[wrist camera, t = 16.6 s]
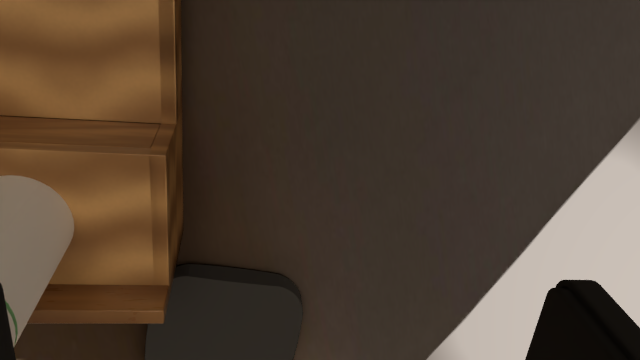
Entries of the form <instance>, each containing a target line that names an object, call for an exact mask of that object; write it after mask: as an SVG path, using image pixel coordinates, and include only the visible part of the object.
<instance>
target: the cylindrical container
mask: <svg viewBox="0 0 640 360" xmlns="http://www.w3.org/2000/svg"><path fill="white" fill-rule="evenodd" d="M73 233H74V219H73V216H72V213H71V210H70V209H69V207H68V205H67V203H66V202H65V201H64V200H63V198H62V197H61V196H60V195H59V194H58V193H57V192H56V191H54V190H53V189H52V188H51V187H49V186H47V185H45V184H44V183H42V182H39V181H37V180H34V179H32V178H28V177H23V176H14V175H6V176H0V283H1V285H2V287H3V292H4V297H5V303H6V308H7V314H8V319H9V325H10V330H11V336H12V341H13V347H14V346H15V344H16V342H17V341H18V339H19V337H20V335H21V333H22V331H23V329H24V328H25V326H26V324H27V322H28V320H29V318H30V317H31V315H32V313H33V311H34V309H35V307H36V305H37V304H38V302H39V300H40V298H41V296H42V294H43V292H44V291H45V289H46V287H47V285H48V283H49V281H50V279H51V278H52V276H53V274H54V272H55V270H56V268H57V266H58V265H59V263H60V261H61V259H62V257H63V255H64V254H65V252H66V250H67V248H68V246H69V244H70V242H71V240H72V238H73Z"/></svg>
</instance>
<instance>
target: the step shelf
mask: <svg viewBox="0 0 640 360" xmlns="http://www.w3.org/2000/svg"><path fill="white" fill-rule="evenodd" d="M0 115H2V116H0V176H6V175H14V176H23V177H28V178H32V179H34V180H37V181H39V182H42V183H44V184H45V185H47V186H49V187H51V188H52V189H53V190H54V191H56V192H57V193H58V194H59V195H60V196H61V197H62V198H63V200H64V201H65V202H66V203H67V205H68V207H69V209H70V210H71V213H72V216H73V219H74V233H73V238H72V240H71V242H70V244H69V246H68V248H67V250H66V252H65V254H64V255H63V257H62V259H61V261H60V263H59V265H58V266H57V268H56V270H55V272H54V274H53V276H52V278H51V279H50V281H49V283H48V285H47V287H46V289H45V291H44V292H43V294H42V296H41V298H40V300H39V302H38V304H37V305H36V307H35V309H34V311H33V313H32V315H31V317H30V318H29V320H28V322H27V323H161V324H163V323H164V321H165V316H166V311H167V306H168V302H169V297H170V292H171V287H172V283H173V278H174V273H175V268H176V263H177V259H178V254H179V249H180V244H181V239H182V235H183V154H182V60H181V0H0ZM10 116H22V117H10ZM30 117H41V118H30ZM50 118H61V119H50ZM69 119H81V120H69ZM89 120H101V121H89ZM109 121H120V122H109ZM129 122H140V123H129ZM149 123H160V124H161V125H160V124H149Z"/></svg>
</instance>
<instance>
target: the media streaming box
mask: <svg viewBox="0 0 640 360" xmlns="http://www.w3.org/2000/svg"><path fill="white" fill-rule="evenodd" d="M302 316H303V309H302V301H301V295H300V292H299V290H298V288H297V287H296V285H295V284H294V283H293V282H292V281H291V280H289V279H288V278H286V277H284V276H282V275H279V274H274V273H268V272H262V271H255V270H248V269H240V268H231V267H222V266H211V265H198V264H185V265H181V266H177V267H176V268H175V273H174V278H173V283H172V287H171V292H170V297H169V302H168V306H167V311H166V316H165V321H164V323H163V324H161V323H148V328H147V336H146V346H145V360H293V358H294V355H295V351H296V347H297V343H298V339H299V334H300V329H301V323H302Z"/></svg>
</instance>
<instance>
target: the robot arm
mask: <svg viewBox="0 0 640 360" xmlns="http://www.w3.org/2000/svg"><path fill="white" fill-rule="evenodd" d="M0 360H16V358H15V353H14V347H13V341H12V336H11V330H10V325H9V319H8V314H7V308H6V303H5V297H4V292H3V287H2V285H1V283H0ZM525 360H640V328H639V327H638V326H637V325H636V323H635V322H634V321H633V320H632V319H631V318H630V317H629V316H628V315H627V314H626V313H625V311H624V310H623V309H622V308H621V307H620V306H619V305H618V304H617V303H616V302H615V301H614V300H613V298H612V297H611V296H610V295H609V294H608V293H607V292H606V291H605V290H604V289H603V288H602V287H601V285H599V284H598V283H597V282H595V281H592V280H562V281H560V282H559V283H558V284H557V285H556V288H552V289H550V290H549V291H548V293H547V296H546V299H545V302H544V305H543V308H542V311H541V314H540V317H539V320H538V323H537V326H536V329H535V332H534V335H533V338H532V341H531V344H530V347H529V350H528V353H527V356H526V359H525Z"/></svg>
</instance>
